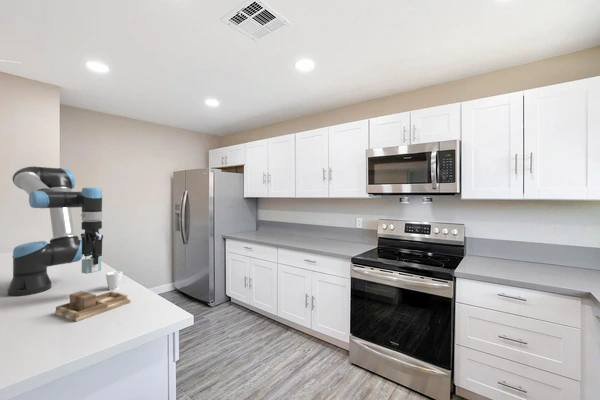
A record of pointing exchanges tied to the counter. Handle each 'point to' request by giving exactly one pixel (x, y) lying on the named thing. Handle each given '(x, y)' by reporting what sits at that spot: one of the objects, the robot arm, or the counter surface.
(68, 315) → the tray
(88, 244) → the robot arm
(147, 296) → the counter surface
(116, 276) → the cup
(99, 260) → the pale teal block
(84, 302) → the brown wooden block
